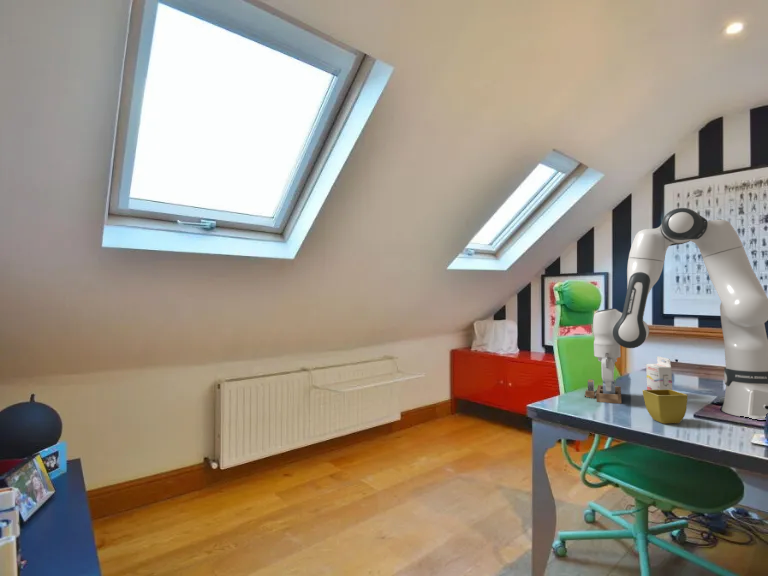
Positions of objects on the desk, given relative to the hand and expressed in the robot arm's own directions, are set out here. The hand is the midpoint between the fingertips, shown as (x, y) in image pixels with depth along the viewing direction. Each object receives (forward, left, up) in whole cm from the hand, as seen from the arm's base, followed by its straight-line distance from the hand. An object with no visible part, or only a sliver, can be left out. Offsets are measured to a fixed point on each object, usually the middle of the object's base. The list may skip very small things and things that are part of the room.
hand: (608, 389), depth 159 cm
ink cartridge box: (-17, -15, -4) cm, 23 cm away
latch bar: (+7, -10, -4) cm, 13 cm away
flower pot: (-16, +24, -4) cm, 29 cm away
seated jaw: (0, -8, -4) cm, 9 cm away
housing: (+2, -5, -4) cm, 7 cm away
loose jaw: (0, 0, -4) cm, 4 cm away
